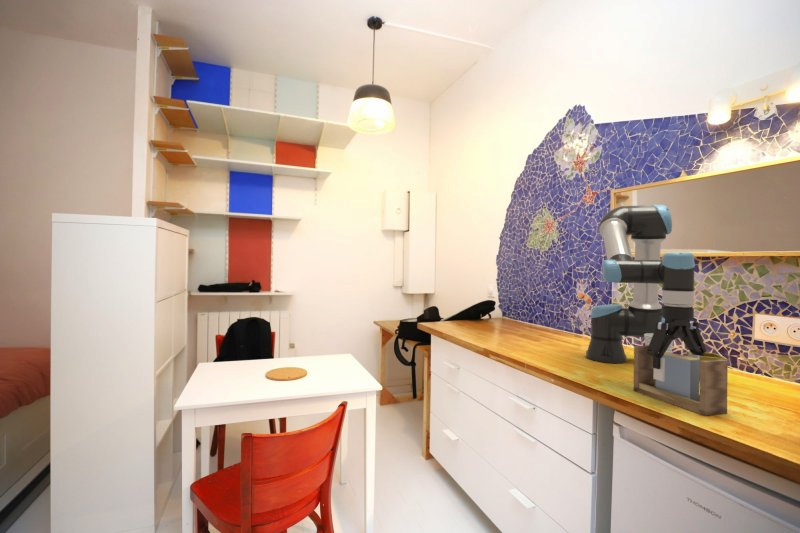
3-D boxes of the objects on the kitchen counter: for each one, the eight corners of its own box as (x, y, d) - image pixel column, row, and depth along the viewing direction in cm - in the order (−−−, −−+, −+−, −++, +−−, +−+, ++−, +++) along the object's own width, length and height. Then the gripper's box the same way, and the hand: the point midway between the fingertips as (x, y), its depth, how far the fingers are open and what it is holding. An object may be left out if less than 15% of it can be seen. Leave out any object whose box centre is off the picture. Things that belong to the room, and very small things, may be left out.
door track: (652, 388, 119) (653, 344, 119) (727, 413, 99) (727, 360, 99) (633, 390, 117) (634, 346, 117) (705, 416, 96) (706, 362, 97)
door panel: (664, 390, 113) (664, 351, 113) (699, 402, 103) (699, 359, 103) (655, 391, 112) (656, 352, 112) (689, 403, 102) (690, 359, 102)
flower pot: (715, 378, 132) (715, 352, 132) (727, 385, 124) (727, 358, 124) (685, 375, 135) (685, 350, 135) (695, 382, 127) (696, 355, 127)
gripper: (695, 303, 115) (694, 371, 115) (632, 304, 108) (631, 377, 108) (722, 306, 108) (721, 378, 108) (657, 307, 101) (656, 385, 101)
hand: (676, 378), depth 108 cm, fingers open, 13 cm apart
